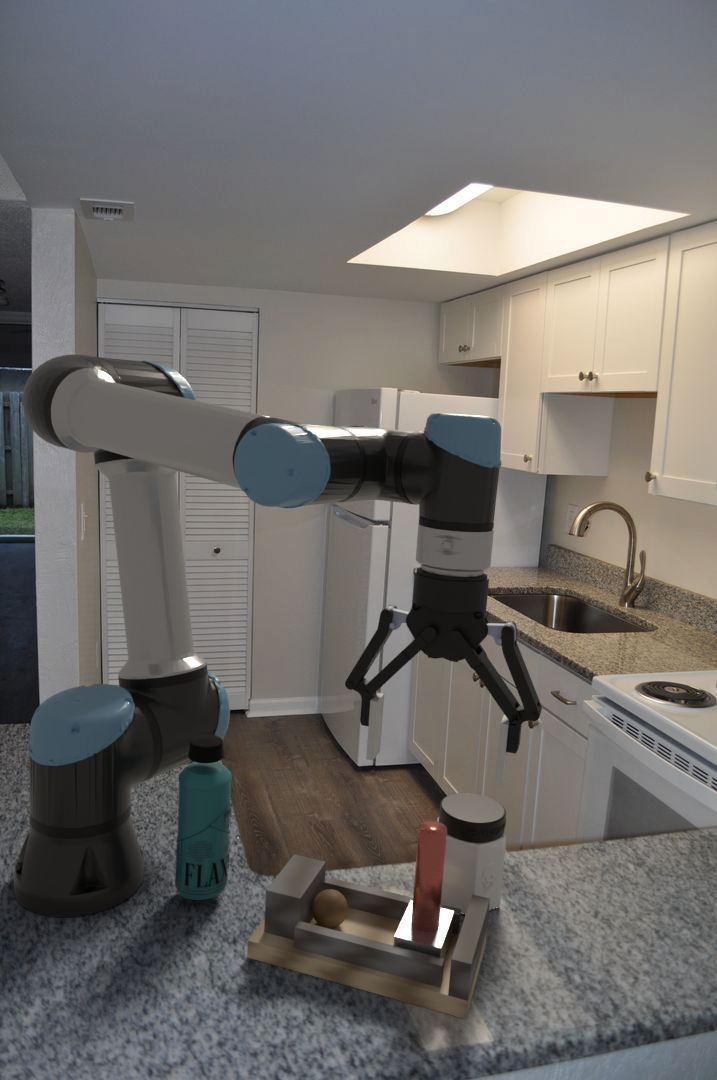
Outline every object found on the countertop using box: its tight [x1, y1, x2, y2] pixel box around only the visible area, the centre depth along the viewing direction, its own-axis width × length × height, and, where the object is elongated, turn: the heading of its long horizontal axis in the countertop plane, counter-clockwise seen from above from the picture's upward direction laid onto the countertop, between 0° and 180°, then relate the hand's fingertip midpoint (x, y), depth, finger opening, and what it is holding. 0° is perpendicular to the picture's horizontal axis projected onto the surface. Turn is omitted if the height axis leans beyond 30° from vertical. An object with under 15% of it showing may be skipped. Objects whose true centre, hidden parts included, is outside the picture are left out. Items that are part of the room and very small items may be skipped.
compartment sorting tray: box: [246, 853, 490, 1020], centre depth 90 cm, size 24×12×7 cm, turn 72°
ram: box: [394, 820, 454, 959], centre depth 87 cm, size 5×7×14 cm
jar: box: [436, 792, 507, 914], centre depth 101 cm, size 9×8×12 cm
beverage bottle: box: [173, 735, 233, 901], centre depth 97 cm, size 6×7×20 cm
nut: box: [312, 889, 348, 928], centre depth 91 cm, size 4×4×4 cm
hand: (435, 767), depth 85 cm, fingers open, 13 cm apart
